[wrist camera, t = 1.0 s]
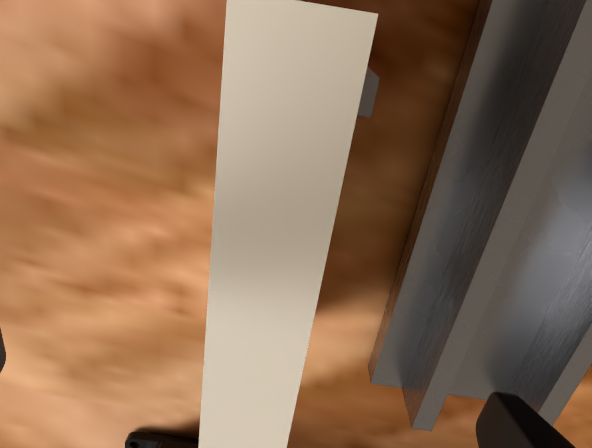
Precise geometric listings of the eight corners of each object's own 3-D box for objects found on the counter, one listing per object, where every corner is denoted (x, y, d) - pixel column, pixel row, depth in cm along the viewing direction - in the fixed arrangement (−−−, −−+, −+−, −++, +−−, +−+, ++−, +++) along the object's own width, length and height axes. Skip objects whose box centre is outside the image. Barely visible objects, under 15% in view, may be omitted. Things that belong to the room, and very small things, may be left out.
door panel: (303, 320, 18) (297, 479, 12) (237, 310, 18) (197, 465, 12) (363, 17, 13) (409, 19, 7) (270, 1, 13) (227, -12, 7)
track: (537, 390, 19) (573, 450, 17) (368, 366, 19) (376, 423, 16) (864, -176, 10) (1056, -243, 8) (551, -234, 10) (637, -323, 7)
